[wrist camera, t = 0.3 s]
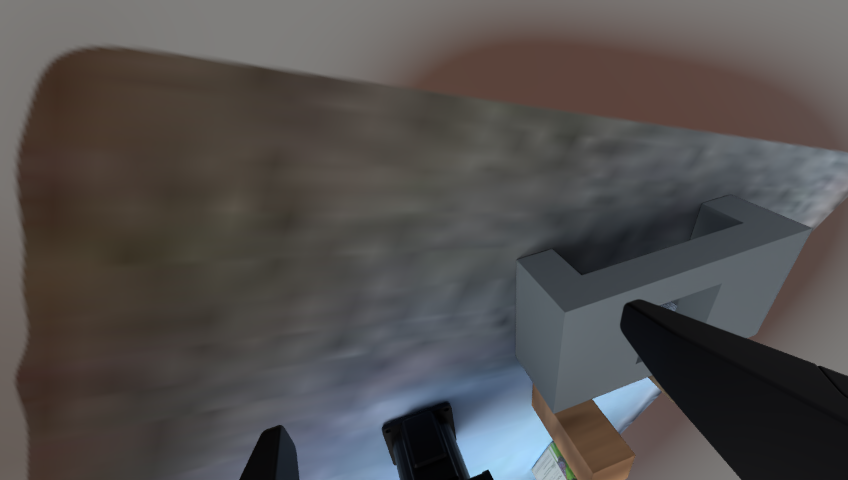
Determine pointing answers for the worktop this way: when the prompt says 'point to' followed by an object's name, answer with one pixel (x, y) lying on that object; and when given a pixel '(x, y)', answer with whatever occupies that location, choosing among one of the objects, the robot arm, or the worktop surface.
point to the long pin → (586, 440)
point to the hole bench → (648, 298)
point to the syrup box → (552, 466)
